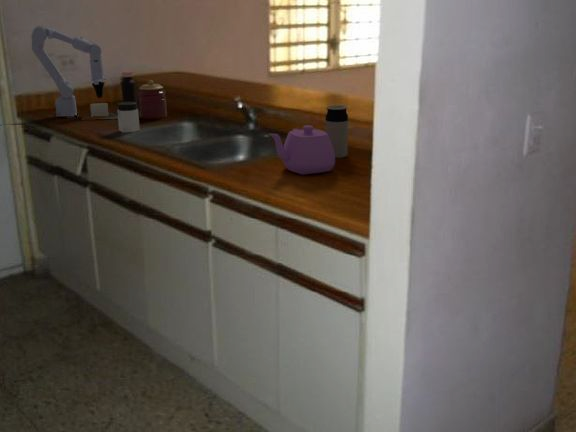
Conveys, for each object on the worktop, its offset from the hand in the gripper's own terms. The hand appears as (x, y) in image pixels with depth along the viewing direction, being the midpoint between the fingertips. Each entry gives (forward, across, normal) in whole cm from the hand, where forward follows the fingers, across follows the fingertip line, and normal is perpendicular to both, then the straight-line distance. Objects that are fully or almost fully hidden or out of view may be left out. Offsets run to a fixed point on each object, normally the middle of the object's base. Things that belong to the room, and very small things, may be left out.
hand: (99, 97), depth 333 cm
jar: (+9, -44, -17) cm, 48 cm away
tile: (+8, -7, 0) cm, 11 cm away
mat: (+8, -8, -1) cm, 12 cm away
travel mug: (+9, -107, -96) cm, 144 cm away
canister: (+9, -13, -26) cm, 30 cm away
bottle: (+9, +2, -14) cm, 16 cm away
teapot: (+9, -125, -82) cm, 150 cm away
